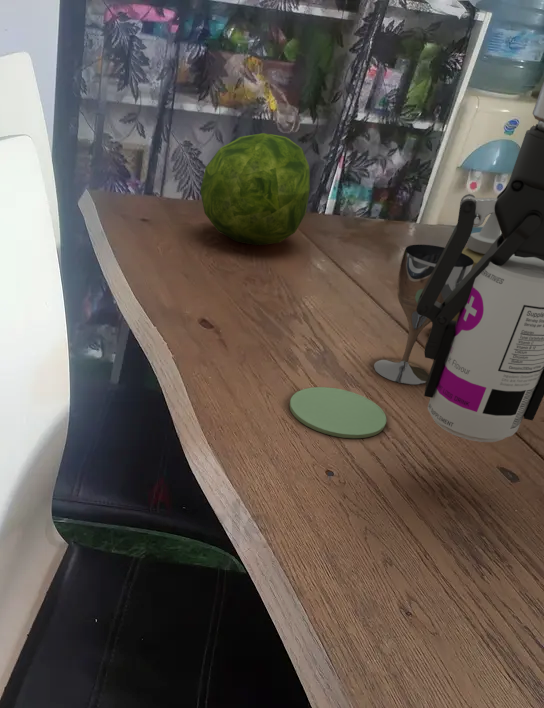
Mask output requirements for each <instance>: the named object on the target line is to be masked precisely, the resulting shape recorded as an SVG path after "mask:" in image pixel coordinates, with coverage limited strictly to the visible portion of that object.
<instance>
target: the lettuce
mask: <svg viewBox="0 0 544 708" xmlns="http://www.w3.org/2000/svg"><path fill="white" fill-rule="evenodd" d="M214 154H215V155H213V157H212V158H211V159H210V161H209V162H208V163H207V164H206V166H205V169H204V173H203V176H202V181H201V185H200V191H199V192H200V197H201V201H202V206H203V211H204V214H205V216H206V218H208V220H209V221H210V223H211V224H212V225H213V226H214V228H215V229H216V231H217V232H219V233H220V234H223V235H224V236H225V237H228V238H229V239H230V240H233V241H235V242H236V243H242V244H247V245H254V246H266V245H272V244H279V243H281V242H282V241H285V240H286V239H287V238H289V237H291V236H293V235H294V234H295V233H296V232H297V230H298V228H300V227H299V226H300V224H301V223H302V221H303V219H304V217H305V216H306V214H307V210H308V209H307V208H308V205H309V204H308V203H309V197H310V191H311V181H310V180H311V178H310V177H311V176H310V175H311V174H310V172H311V171H310V165H309V162H308V160H307V157H306V153H305V152H304V148H302V147H301V146H300V145H298V144H297V143H295V142H294V141H293V140H291V139H290V138H288V137H287V136H284V135H278V134H271V133H265V132H262V133H257V134H250V135H244V136H239V137H237V138H236V139H234V140H232V141H230V142H228V143H227V144H225V145H224V146H221V147H220V148H219V149H218V150H217V151H216V153H214Z"/></svg>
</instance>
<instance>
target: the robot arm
mask: <svg viewBox="0 0 544 708" xmlns="http://www.w3.org/2000/svg"><path fill="white" fill-rule="evenodd" d="M532 115H533V117H534V119H535V120H536V121H537V123H536V124H535V125H533V126H531V127H530V128H529V129H527V130H526V131H525V134H524V137H523V140H522V143H521V146H520V149H519V152H518V154H517V158H516V159H515V160H516V161H515V163H514V165H513V168H512V172H511V175H510V178H509V180H508V183H507V184H506V186H505V187H504V189H503V190H502V191H501V192H500V193H499V194H498V195H497V196H496V197H476V196H475V195H474V194H472V193H468V194H465V195H464V196H463V197H461V199H460V203H459V209H458V218H457V223H456V225H455V227H454V229H453V231H452V232H451V235H450V237H449V238H448V241H447V243H446V244H445V246H444V250H443V252H442V254H441V256H440V258H439V260H438V262H437V264H436V266H435V268H434V270H433V272H432V274H431V276H430V278H429V279H428V281H427V283H426V285H425V287H424V289H423V291H422V293H421V295H420V297H419V300H418V304H417V309H416V310H417V313H418V314H419V315H421V316H426V317H427V318H429V319H430V320H431V321H432V322H431V327H430V330H429V333H428V337H427V340H426V343H425V345H424V353H423V354H424V358H426V359H429V360H433V361H432V365H431V368H430V370H429V373H428V375H429V376H428V379H427V382H425V386H424V394H423V396H424V397H428V398H432V397H433V395H434V392H435V389H436V386H437V383H438V380H439V377H440V374H441V371H442V368H443V365H444V362H445V360H446V357H447V354H448V351H449V348H450V345H451V342H452V339H453V336H454V333H455V325H456V321H454V320H452V319H453V318H454V317H455V316H456V315H457V314H458V313H459V312H460V311H461V309H462V308H463V307H464V306H465V305H466V304H467V301H468V299H469V296H470V293H471V290H472V287H473V284H474V281H475V278H476V277H477V276H478V275H479V274H480V273H481V272H482V271H483V270H484V269H485V268H486V267H487V266H488V265H489V263H490V262H492V263H493V264H495V265H499V266H502V265H504V264H505V263H506V262H507V261H508V260H509V258H510V257H511V256H512V255H513V254H514V256H518V257H523V258H527V257H537V258H539V259H541V260H543V261H544V81H542V85H541V88H540V90H539V92H538V96H537V99H536V102H535V105H534V107H533V111H532ZM491 213H495V215H496V218H497V221H498V224H499V226H500V236H499V237H498V238H497V239H496V241H495V242H494V243H493V244H492V246H491V247H490V249H489V250H488V251H487V252H486V254H485V255H484V256H483V257H482V258H481V259H480V260H479V262H478V263H477V264H476V265H475V266H474V267H473V268H472V270H471V271H470V272H469V273H468V274H467V275H466V276H465V277H464V279H463V280H462V281H461V282H460V283H459V284H458V285H457V287H456V288H455V289H454V290H453V291H452V292H451V293H450V295H449V296H448V297H447V298H446V299H445V300H444V301H443V302H442V304H441V303H439V302H437V301H436V300H437V298H438V296H439V294H440V292H441V290H442V289H443V287H444V285H445V283H446V281H447V279H448V277H449V275H450V274H451V272H452V270H453V268H454V266H455V264H456V262H457V260H458V258H459V257H460V255H461V253H462V251H463V249H464V248H466V246H467V244H468V241H469V238H470V235H471V234H472V233H473V228H478V227H480V226H482V225H484V222H485V220H486V218H487V217H489V216H490V214H491ZM543 399H544V370H543V373H542V375H541V377H540V380H539V382H538V384H537V386H536V389H535V391H534V393H533V396H532V398H531V400H530V403H529V405H528V407H527V410H526V412H525V414H524V417H523V419H524V420H528V421H534V420H535V417H536V414H537V412H538V410H539V408H540V406H541V403H542V401H543Z"/></svg>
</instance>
